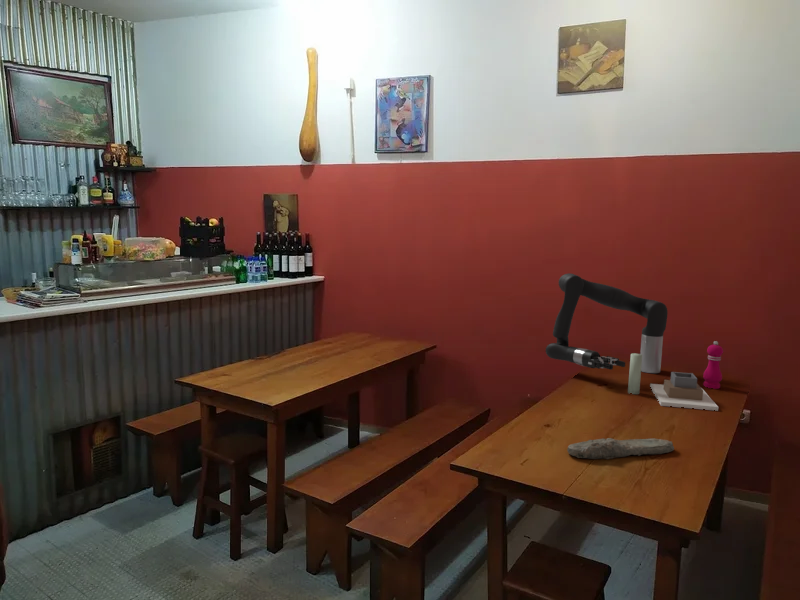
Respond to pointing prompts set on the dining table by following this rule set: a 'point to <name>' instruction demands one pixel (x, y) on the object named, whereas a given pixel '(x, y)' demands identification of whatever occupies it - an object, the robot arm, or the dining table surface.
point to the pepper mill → (713, 367)
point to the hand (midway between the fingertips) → (618, 365)
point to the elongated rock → (619, 448)
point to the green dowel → (635, 373)
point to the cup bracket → (683, 392)
